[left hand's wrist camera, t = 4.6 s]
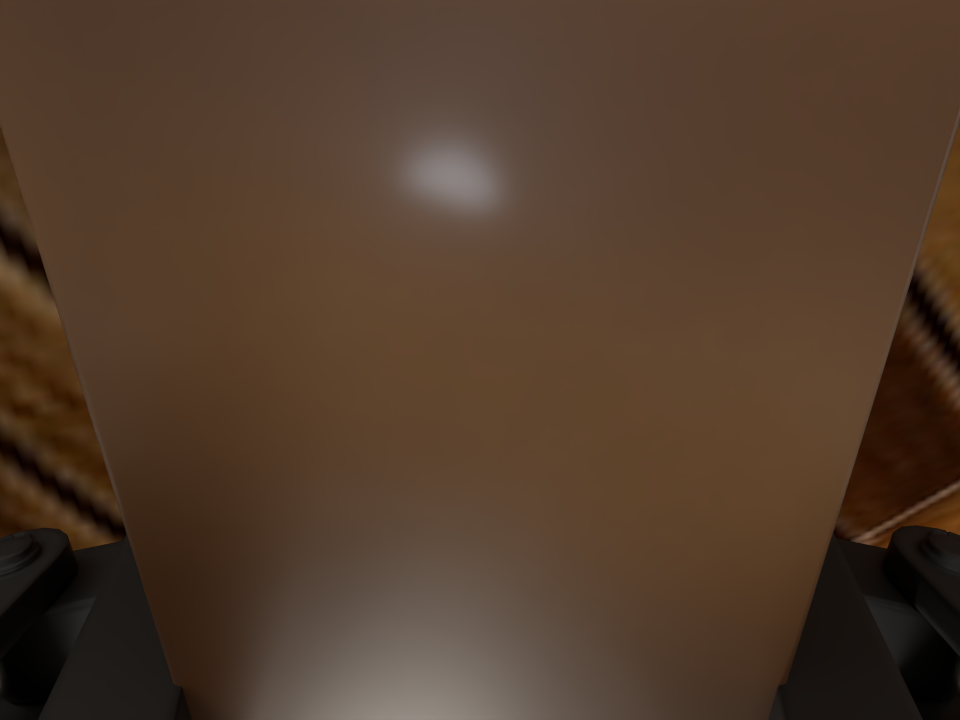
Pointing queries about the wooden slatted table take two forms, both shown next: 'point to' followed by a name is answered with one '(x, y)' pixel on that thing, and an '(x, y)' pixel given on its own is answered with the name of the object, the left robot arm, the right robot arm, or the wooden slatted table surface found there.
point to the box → (479, 329)
